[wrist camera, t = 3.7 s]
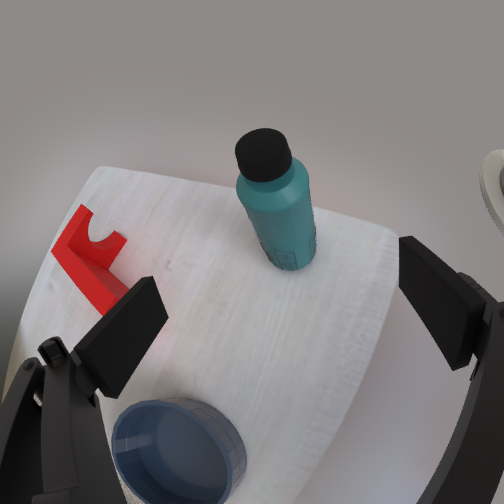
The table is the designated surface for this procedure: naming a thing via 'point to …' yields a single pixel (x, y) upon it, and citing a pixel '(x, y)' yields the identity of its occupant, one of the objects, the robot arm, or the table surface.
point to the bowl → (178, 452)
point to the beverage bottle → (276, 198)
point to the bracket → (90, 261)
